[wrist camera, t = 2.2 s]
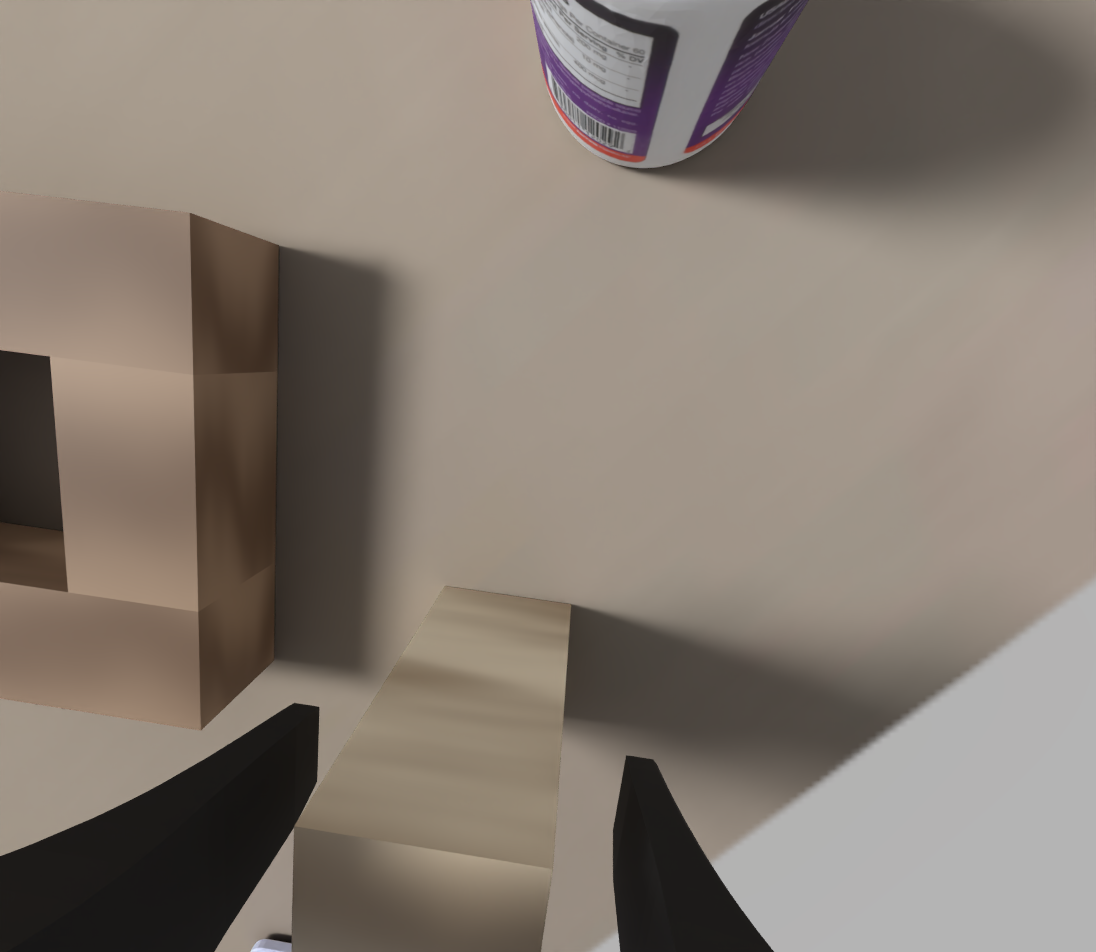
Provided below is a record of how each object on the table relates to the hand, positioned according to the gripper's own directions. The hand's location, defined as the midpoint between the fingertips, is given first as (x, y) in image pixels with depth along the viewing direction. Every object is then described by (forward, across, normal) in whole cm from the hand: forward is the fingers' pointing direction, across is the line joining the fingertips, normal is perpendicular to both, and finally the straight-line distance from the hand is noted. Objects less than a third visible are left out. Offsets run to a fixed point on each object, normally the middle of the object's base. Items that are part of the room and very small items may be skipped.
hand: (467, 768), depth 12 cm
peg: (+5, 0, 0) cm, 5 cm away
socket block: (+5, +14, -5) cm, 16 cm away
